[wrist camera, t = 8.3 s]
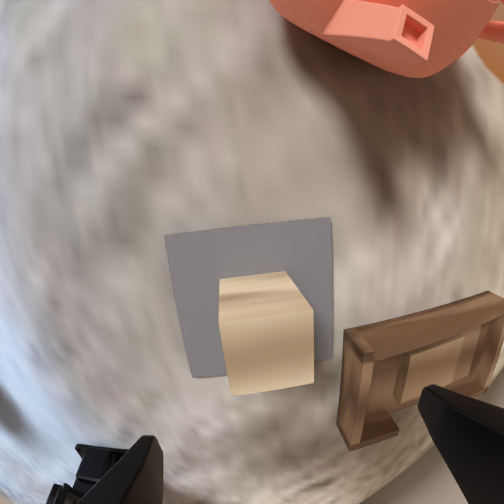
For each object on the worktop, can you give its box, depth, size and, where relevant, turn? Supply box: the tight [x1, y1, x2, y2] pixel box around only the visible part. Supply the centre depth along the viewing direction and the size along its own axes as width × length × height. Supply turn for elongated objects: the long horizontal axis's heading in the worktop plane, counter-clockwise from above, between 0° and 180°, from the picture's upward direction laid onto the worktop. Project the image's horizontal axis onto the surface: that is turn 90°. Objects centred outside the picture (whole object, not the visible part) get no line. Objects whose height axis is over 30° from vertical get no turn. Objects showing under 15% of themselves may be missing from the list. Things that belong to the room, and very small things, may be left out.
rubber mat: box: [164, 217, 333, 378], centre depth 19 cm, size 10×10×1 cm
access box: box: [337, 291, 504, 451], centre depth 20 cm, size 10×16×4 cm, turn 96°
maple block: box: [219, 271, 314, 396], centre depth 15 cm, size 4×4×6 cm
